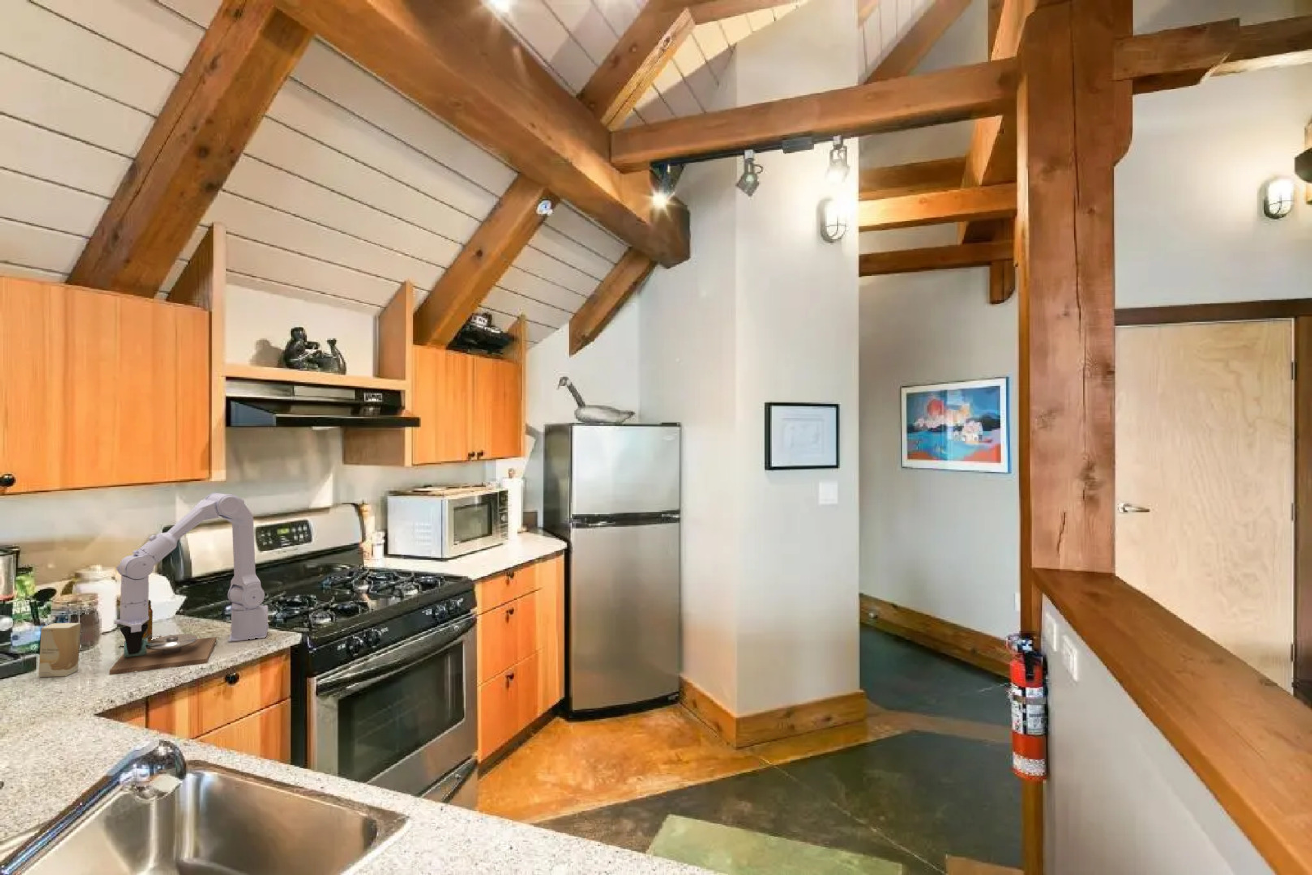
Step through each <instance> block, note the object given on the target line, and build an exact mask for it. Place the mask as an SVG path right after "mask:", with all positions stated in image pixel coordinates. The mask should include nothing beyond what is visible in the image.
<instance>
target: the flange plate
mask: <svg viewBox="0 0 1312 875" xmlns="http://www.w3.org/2000/svg"><path fill="white" fill-rule="evenodd" d="M197 639H198V636H197V635H196V634H189V633H178V634H170V635H165V636H161V637H159V638H156V639H153V640H150V641H149V642H148V637H146V638H142V642H141V647H140V651H139V653H136V654H130V655H129V654H128V651H127V646H126V641H124V642H123V644H124V647H123V654H124V657H131V656H140V655H146V653H147V649H151V650H166V649H174V648H179V647H184V646H187V645H190V644H193V643H195V642H196V641H197Z"/></svg>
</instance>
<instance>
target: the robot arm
mask: <svg viewBox="0 0 1312 875" xmlns="http://www.w3.org/2000/svg"><path fill="white" fill-rule="evenodd" d="M219 517H221V518H222V519H224V520H226V521H227V522H229V523H230V524H231V525H232V526H231V531H232V550H233V551H232V554H233V575H234V576H232V579H231V580H230V587H229V589H228V592H227V599H228V601H229V602H230V603H231V613H230V614H231V618H230V622H231V623H230V635H229V636H228V639H227V642H240V641H247V640H248V639H250V640H255V638H258V639H265V637H266V638H267V635H268V631H269V622H268V621H269V618H268V617H269V606H268V605H267V604H266V605H261V604H262V603H263V602H264V600H265V596H266V595H265V590H264V589H263V588H262V584H261V580H260V578H259V577H258V576H257V574H256V555H255V554H256V553H255V552H256V551H255V530H254V529H255V527H254V514H253V513H252V512H251V510H250V509H249V508H248V506H247V505H246V503H245V500H244V499H242V497H239V496H237V495H235V494H227V493H222V492H221V493H220V492H211V493H210V494H208V495H207V496H206V497H205V498H203V499H202V500H199V502H198V503H197V504H196V505H195V506H194V507H193V508H192V509H191V510H189V512H188V513H186V515H184V516H183V517H182V518H181V519H180V520H179V521H177V522H176V524H174V525H173V526H172V527H171V528H170V529H169V530H167V531H166V532H158V533H157V534H152V535H150V536H149V537H148V539H149V540H148V541H147V542H146V543H144V544H143V545H142V546H140V547H139V548H138V549H134V550H133V551H132V554H130V555H127V556H125V557H123V558H122V559H121V560H120V562H119V564H118V566H116V571H117V573H118V574H119V575H121V577H120V602H119V603H120V605H119V608H120V609H119V611H120V614H119V619H115V620H114V621H113V624H115V625H123V626H121V627H119V630H120V632H121V634H122V635H123V637H124V640H125V641H126V646H127V651H128V654H129V655H130V654H136V653H139V651H140V647H141V642H142V638H143V635H144V633H145V631H146V630H147V628H148V624H147V623H145V622H146V621H148V620H149V616H148V600H149V592H150V590H149V588H150V586H149V585H150V583H149V578H150V577H149V575H151V574H152V572H153V571H154V567H155V566H156V565H157V564H159V562H161V561H162V560H163V559H164V558H165V557H167V556H168V555H169V554H170V553H172V551H174V550H175V549H176V548H177V546H178V541H179V540H180V539H181V538H183V537H184V536H185V535H186V534H188V533H189V532H190V531H191V530H193V529H194V528H195V527H197V526H199V524H201V523H202V522H204V521H207V520H212V519H219ZM125 641H124V642H125Z"/></svg>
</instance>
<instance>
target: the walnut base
mask: <svg viewBox="0 0 1312 875" xmlns="http://www.w3.org/2000/svg"><path fill="white" fill-rule="evenodd" d="M217 638H218V637H217V636H214V637H213V636H212V637H206V638H205V637H204V638H197V641H196V642H195V643H193V644H190V645H187V646H184V647H179V648H174V649H166V650H151V649H147V653H146V655H140V656H131V657H124V653H123V654H122V655H121V656H120V657H119V658H118V660H116V662H115V663H114V664H113V666H112V667H111V668H110V669H109V676H113V675H118V674H127V673H128V674H129V673H135V671H137V672H143V671H144V672H146V671H151V670H159V669H160V668H162V669H168V668H169V667H170V668H177V667H184V666H185V667H186V666H193V665H200V664H202V665H203V664H207V663H208V661H209V659H210V657H211V655H210V654H212V653H213V650H214V648H215V646H214V645H216V644H217ZM215 643H216V644H215ZM213 647H214V648H213ZM160 670H161V669H160Z"/></svg>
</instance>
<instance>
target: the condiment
mask: <svg viewBox="0 0 1312 875" xmlns="http://www.w3.org/2000/svg"><path fill="white" fill-rule="evenodd" d="M153 614H154V611H153V608H152V601H151V600H150V599H148V616H149V620H148V621H146V622H145V623H147V624H148V628H147V630H146V631H145V633H144V635H143V638H146V637H148V642H149V641H150V640H151V639H152V637H153V616H154V615H153ZM158 637H162V635H159V636H158Z"/></svg>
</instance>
